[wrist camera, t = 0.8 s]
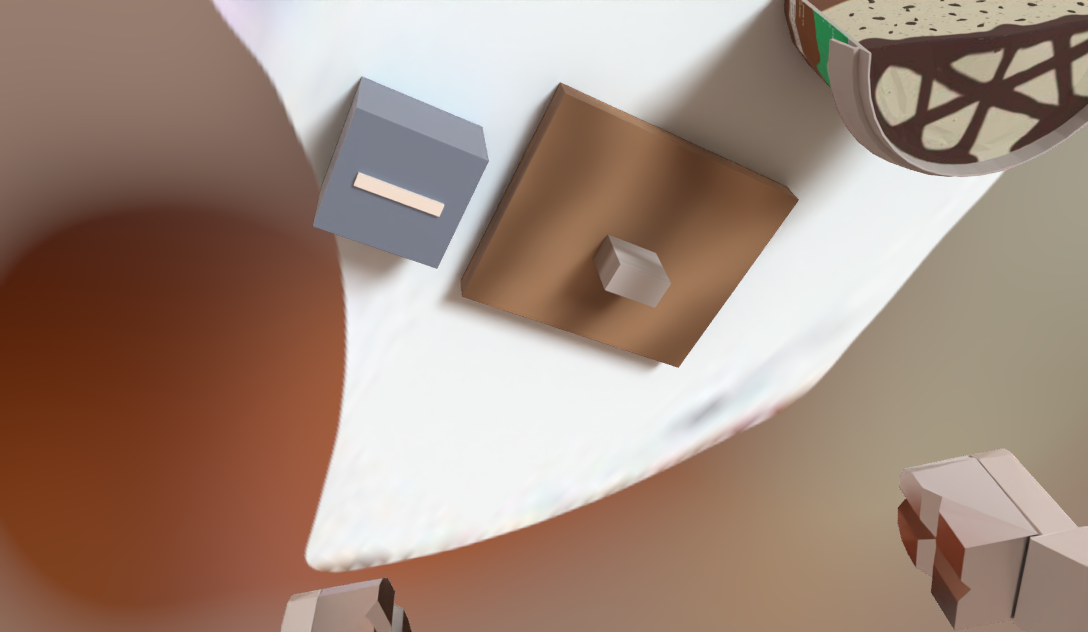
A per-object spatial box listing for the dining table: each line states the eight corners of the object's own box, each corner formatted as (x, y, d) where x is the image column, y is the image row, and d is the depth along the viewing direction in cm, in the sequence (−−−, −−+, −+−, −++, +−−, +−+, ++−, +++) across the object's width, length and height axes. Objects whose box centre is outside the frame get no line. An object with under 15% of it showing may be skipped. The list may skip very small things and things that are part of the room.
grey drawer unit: (320, 187, 38) (311, 228, 34) (361, 76, 35) (356, 109, 31) (435, 228, 40) (437, 270, 36) (482, 127, 37) (488, 162, 34)
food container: (744, 118, 39) (831, 209, 31) (753, -10, 35) (854, 55, 27) (975, 87, 40) (1120, 168, 31) (1008, -42, 36) (1180, 12, 28)
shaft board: (460, 281, 42) (465, 329, 38) (560, 82, 36) (576, 116, 33) (671, 352, 47) (693, 400, 43) (787, 187, 41) (823, 227, 38)
